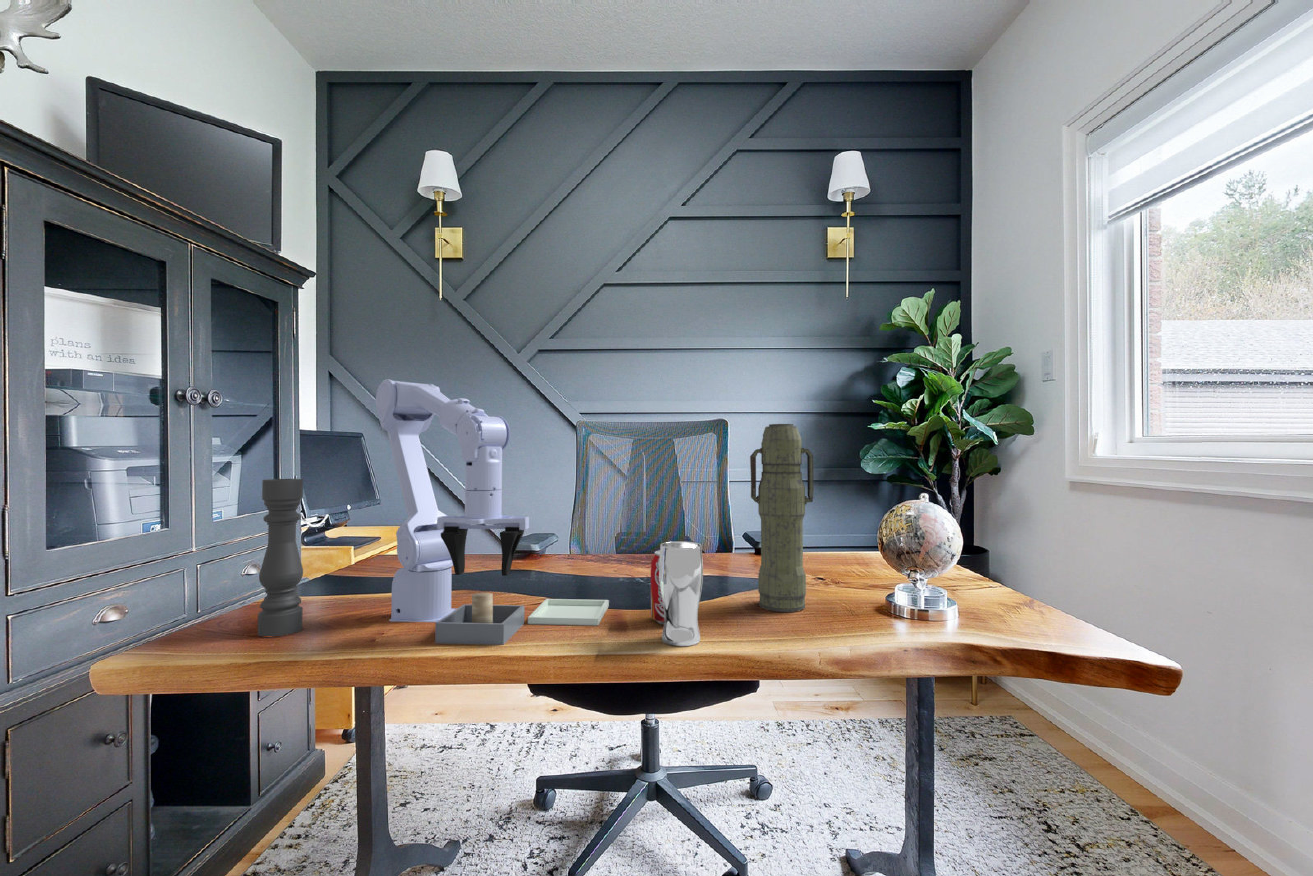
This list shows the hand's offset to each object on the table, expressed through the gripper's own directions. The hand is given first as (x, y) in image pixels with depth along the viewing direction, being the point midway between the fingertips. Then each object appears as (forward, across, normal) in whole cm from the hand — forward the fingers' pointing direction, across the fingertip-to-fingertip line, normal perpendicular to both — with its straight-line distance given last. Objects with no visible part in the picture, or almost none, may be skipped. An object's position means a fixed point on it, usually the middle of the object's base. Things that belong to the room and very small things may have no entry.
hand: (482, 574), depth 91 cm
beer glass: (+10, +32, 0) cm, 34 cm away
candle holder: (+10, -34, 0) cm, 35 cm away
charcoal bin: (+10, 0, 0) cm, 10 cm away
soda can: (+10, +30, +10) cm, 33 cm away
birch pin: (+9, 0, 0) cm, 9 cm away
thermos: (+10, +51, +21) cm, 56 cm away
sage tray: (+10, +12, +11) cm, 19 cm away
